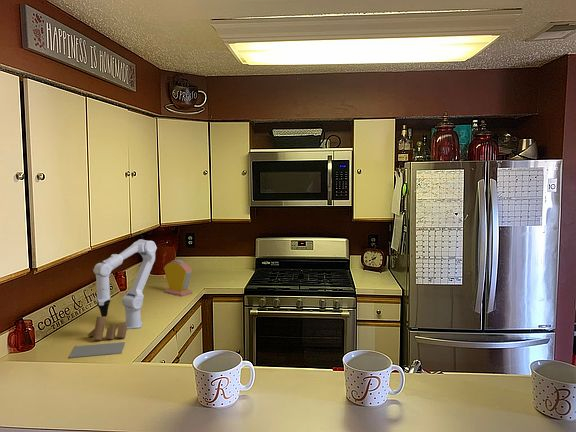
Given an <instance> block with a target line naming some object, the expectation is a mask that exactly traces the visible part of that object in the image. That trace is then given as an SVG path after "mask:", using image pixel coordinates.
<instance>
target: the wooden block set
mask: <svg viewBox="0 0 576 432" xmlns="http://www.w3.org/2000/svg"><path fill="white" fill-rule="evenodd" d="M106 318H107V317H102V316H97V317H96V321H95V325H94V328H93V329H92V330H91V331H90V332H89V333H88V334H87V336H88V337H93V338H92V340H97V341H102V340H103V336H104V329H105V325H106V324H105V323H106V321H107V319H106ZM127 330H128V329H127V325H126V323H125V324H124V323H119V324H118V328H117V325H115V324H114V325H112V324H110V325H109V326H108V327H107V328H106V333H105V339H106V340H115V338H119V339H125V338H126V335H127ZM116 331H117V333H116ZM115 336H116V337H115Z"/></svg>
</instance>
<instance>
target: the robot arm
mask: <svg viewBox="0 0 576 432" xmlns="http://www.w3.org/2000/svg"><path fill="white" fill-rule="evenodd" d="M157 249H158V247H157V245H156V243H155V241H153V240H145V239H142V238H141V239H138V240H136V241H135V242H133V243H132V244H131V245H130V246H129V247H127V248H126V249H124V250H123V251H121V252H120V253H119V254H117V253H113V254H111V255H110V257H108V258H106V259H105V260H102V262H98V263H96V264H95V265H94V267H93V269H92V271H93V273H94V274H95V278H96V279H95V280H96V281H95V282H96V297H94V301H97V302H96V305H97V307H98V309H99V311H100V315H101V316H100V317H105V318H107V316H108V314H109V307H110V303H111V292H110V291H111V290H110V275H111V273H112V271H114V270H115V269H116V268H118V267H119V266H121V265H123V262H124V260H126V259H128V258H129V257H131V256H133V255H134V254H136V253H138V254H139V255H141V257H142V262H141V264H140V267H139V270H138V271H137V274H136V277H135V278H134V282H133V283H132V287H131V288H130V289H129V290H127V291H126V294H125V295H124V296H123V297H122V300H121V303H122V305H123V307H124V311H125V313H124V314H125V324H126V325H127V330H128V329H129V330H130V329H141V328H142V326H143V321H142V318H141V317H142V316H141V308H142V307H143V304H144V298H145V295H144V293H143V292H144V288H145V287H146V283H147V282H148V281H147V280H148V278H149V276H150V273H151V271H152V269H153V265H154V263H155V262H156V251H157Z"/></svg>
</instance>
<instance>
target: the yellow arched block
mask: <svg viewBox="0 0 576 432" xmlns="http://www.w3.org/2000/svg"><path fill="white" fill-rule="evenodd" d="M163 270H164V273H165V277H166V281H167V285H168V289H164V293H165V294H170V295H173V294H174V295H175V296H178V295H179V297H184V295H185V296H188V294H189V295H192V294H193V290H191V289H190V290H189V286H190V280H191V276H192V271H193V269H192V267H191V266H189V264H188V263H186V262H185V261H184V260H182V259H174V260H171V261H170V262H168V263H166V265H164V267H163ZM174 295H173V296H174Z"/></svg>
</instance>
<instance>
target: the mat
mask: <svg viewBox="0 0 576 432" xmlns="http://www.w3.org/2000/svg"><path fill="white" fill-rule="evenodd" d="M125 343H126V342H125V341H123V342H122V341H120V342H110V343H98V344H97V343H95V344H87V345H86V344H85V345H76V346H74V348H73V349H72V351H71V352H70V354H69V356H68V359H74V358H77V359H78V358H86V357H96V356H107V355H108V356H109V355H120V354H121V355H122V354H123V353H122V352H123V351H124V347H125Z"/></svg>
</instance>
